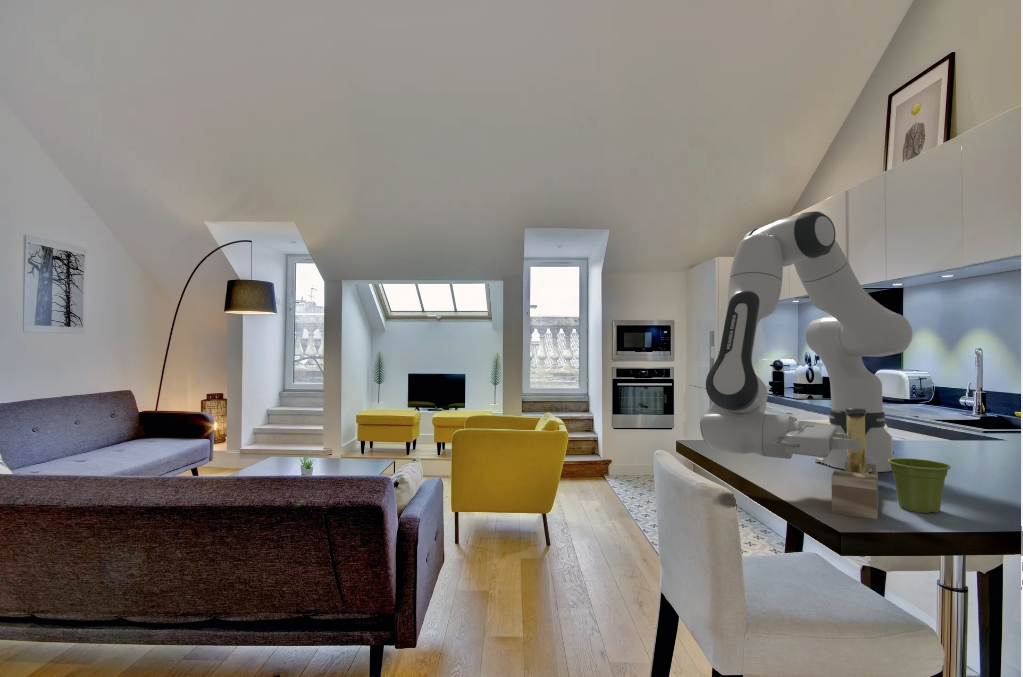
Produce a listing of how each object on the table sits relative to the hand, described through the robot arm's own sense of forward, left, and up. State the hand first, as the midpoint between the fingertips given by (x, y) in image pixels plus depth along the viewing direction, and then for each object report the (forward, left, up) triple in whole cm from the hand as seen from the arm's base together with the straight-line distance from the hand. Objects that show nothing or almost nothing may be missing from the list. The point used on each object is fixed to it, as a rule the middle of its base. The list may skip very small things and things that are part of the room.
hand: (861, 442), depth 104 cm
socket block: (+5, -1, -12) cm, 13 cm away
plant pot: (-4, +9, -12) cm, 16 cm away
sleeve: (-17, -1, -12) cm, 20 cm away
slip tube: (-4, -1, -10) cm, 11 cm away
